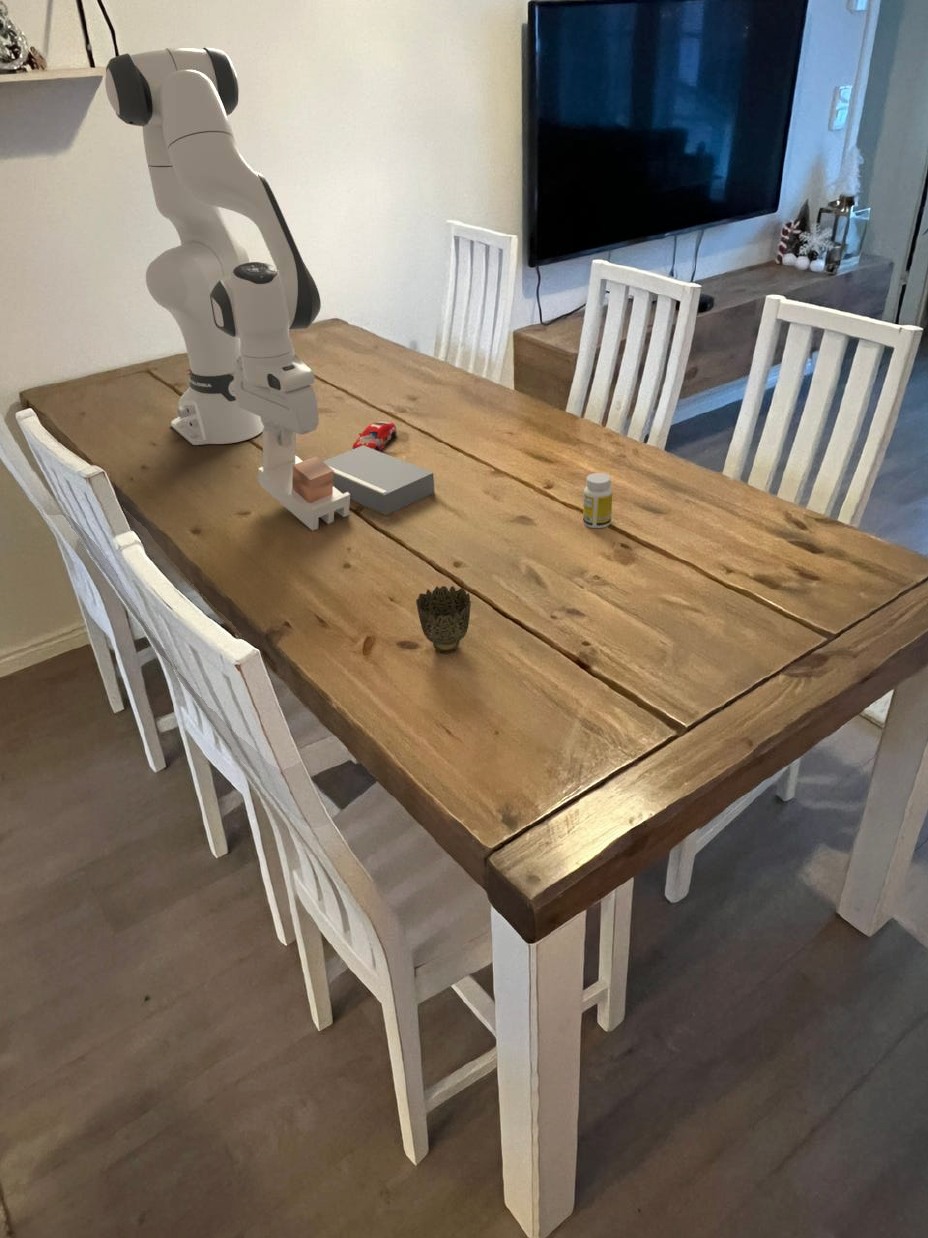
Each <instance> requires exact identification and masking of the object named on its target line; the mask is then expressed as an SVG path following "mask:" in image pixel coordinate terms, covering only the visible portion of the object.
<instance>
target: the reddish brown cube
mask: <svg viewBox="0 0 928 1238" xmlns="http://www.w3.org/2000/svg"><path fill="white" fill-rule="evenodd" d="M302 461H303V462H300V463H297V464H295V465H293V476H292V489H293V490H294V491H296V492H297V493H298V494H299V495H300V496H302V497H303V498H304V499H305V500H306V501H307V502H309V503H312V502H314V501H317V500H319V499H321V498H324V497H326V496H329V495H331V494H333V477H334V470H332V469H331V468H330V467H329V466H327V465H326V464H325V463H324V462H323V461H324V460H323V461H322V460H321V459H320V458H319V457H318V456H314V457H313V456H312V457H310V458H308V459H305V460H302Z"/></svg>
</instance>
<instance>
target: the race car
mask: <svg viewBox="0 0 928 1238" xmlns="http://www.w3.org/2000/svg"><path fill="white" fill-rule="evenodd" d="M358 435H359V437H358V438H357V439H356V441H355V442H354V443H353V444H352V450H353V449H355V448H358V447H360V446H363V445H364V446H366V447H369V448H371V449H374V450H377V451H379V452H381V451H382V450H383V449H384V448H385V447H386V446H387V445H389V443H391V442H392V441H394V440H395V438H396V436H397V427H396V424H395V423H394V422H391V421H390V422H389V421H377V422H373V423H371V424H370V425H368V426H367V427H366V428H365V429H364V430H363V431H362V432H359V433H358Z"/></svg>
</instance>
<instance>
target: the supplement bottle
mask: <svg viewBox="0 0 928 1238" xmlns="http://www.w3.org/2000/svg"><path fill="white" fill-rule="evenodd" d="M611 483H612V481H611V476H610V475H608V474H607V473H603V472H595V473H591V474H588V476H587V477H586V481H585V484H586V486H585V487H584V489H583V509H582V511H583V513H582V519H583V520H582V522H583V524H584V525H585V526H586V527H588V528H592V529H603V528H606V527H609V526H610V525H611V522H612V512H613V511H612V506H613V489H612V487H611Z"/></svg>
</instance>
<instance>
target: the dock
mask: <svg viewBox="0 0 928 1238" xmlns="http://www.w3.org/2000/svg"><path fill="white" fill-rule="evenodd" d="M323 462H324V463H325V464H326V465H327V466H329V467H330V468H331V469H332V470H334V477H333V486H334V487H335V488H336V489H337V490H339V491H340V492H341V493H342V494H344V493H346V492H348V493H349V494H350V501H353V502H356V503H357V502H358V504H360V505H362V506H364V507H366V508H369V509H371V510H373V511H375V512H376V513H380V514H381V515H384V516H388V515H390V514H392V513H394V512H396V511H398V510H400V509H403V508H405V507H407V506H409V505H411V504H413V503H415V502H419V500H422V499H424V498H426V497H429V496H430V495H433V494H435V478H434V472H432V471H430V470H427V469H425V468H423V467H420V466H417V465H414V464H412V463H409V462H407V461H404V460H401V459H400V458H397V457H394V456H391V455H389V454H386V453H383V452H381V451H377V450H374V449H371V448H369V447H366V446H364V445H363V446H360V447H358V448H355V449H353V448H352V449H351V450H348V451H345V452H343V453H340V454H337V455H336V456H333V457H330V458H327V459H326V460H323Z"/></svg>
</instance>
